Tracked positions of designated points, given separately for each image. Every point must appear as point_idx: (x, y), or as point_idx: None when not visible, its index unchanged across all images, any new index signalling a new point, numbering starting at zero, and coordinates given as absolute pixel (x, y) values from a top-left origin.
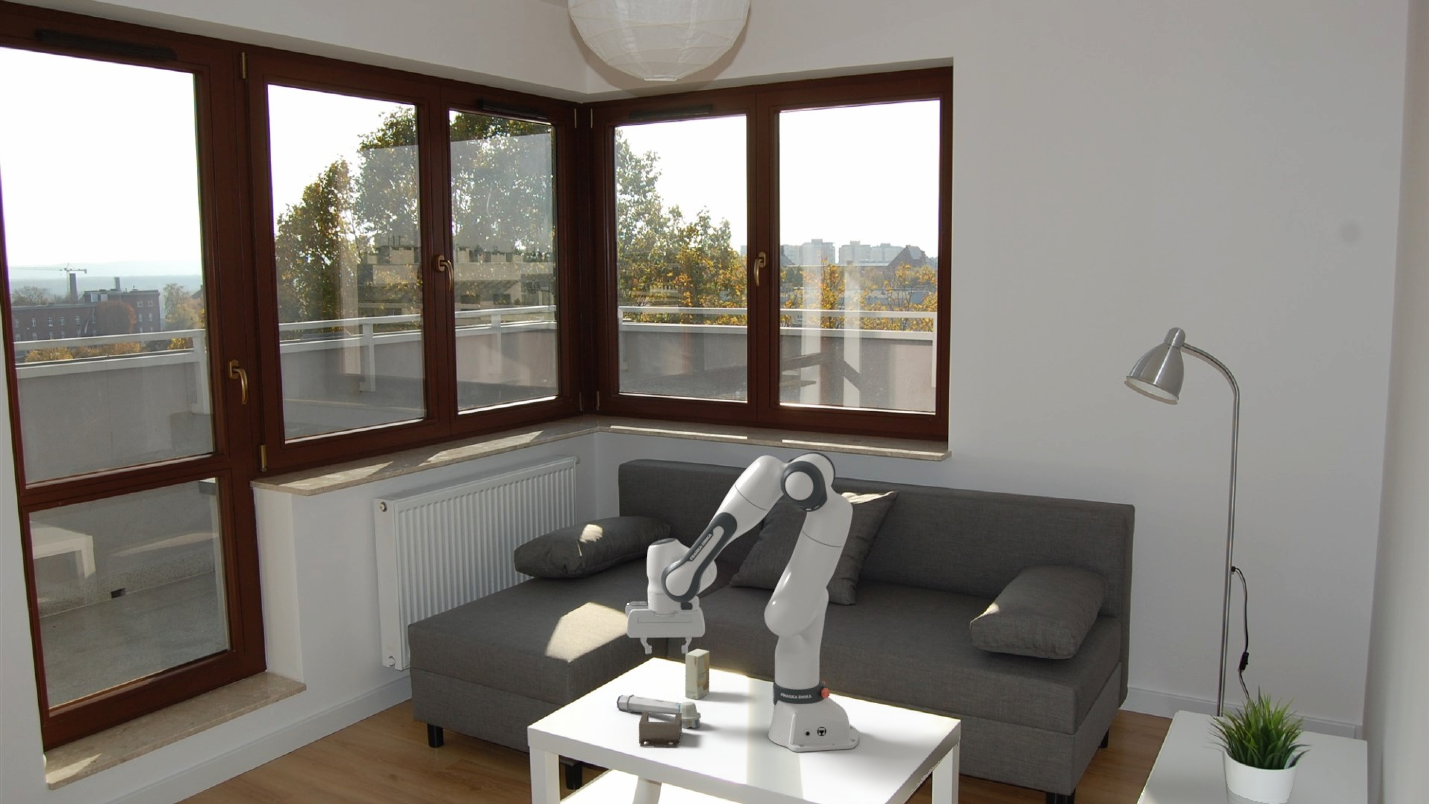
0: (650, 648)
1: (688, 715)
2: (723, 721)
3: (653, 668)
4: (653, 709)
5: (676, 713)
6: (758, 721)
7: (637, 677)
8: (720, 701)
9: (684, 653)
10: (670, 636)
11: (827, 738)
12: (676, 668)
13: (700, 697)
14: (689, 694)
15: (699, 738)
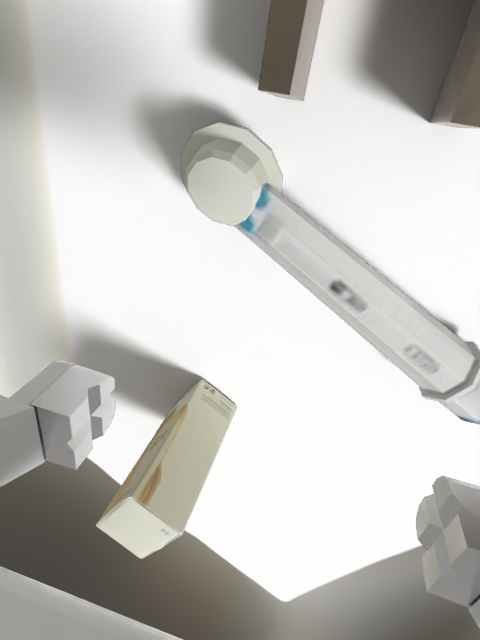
0: (467, 538)
1: (231, 143)
2: (122, 194)
3: (302, 577)
4: (376, 272)
5: (288, 85)
6: (18, 176)
7: (355, 553)
8: (139, 353)
9: (86, 368)
10: (90, 628)
11: None
12: (246, 557)
13: (193, 387)
14: (222, 403)
15: (208, 7)
